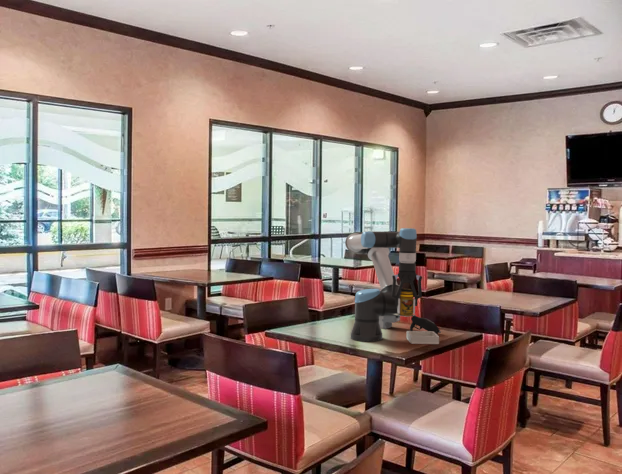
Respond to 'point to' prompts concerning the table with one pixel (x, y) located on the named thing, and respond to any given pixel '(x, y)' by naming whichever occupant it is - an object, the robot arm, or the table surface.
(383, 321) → the circuit breaker
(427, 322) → the gun
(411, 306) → the condiment
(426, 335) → the tray
